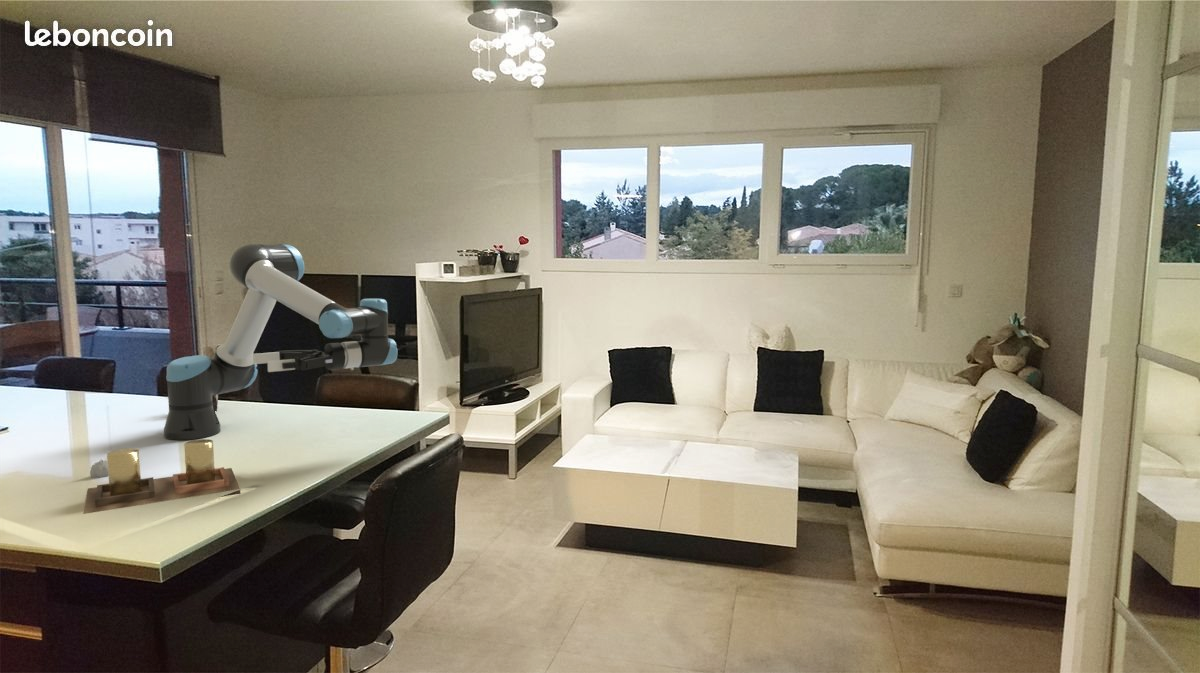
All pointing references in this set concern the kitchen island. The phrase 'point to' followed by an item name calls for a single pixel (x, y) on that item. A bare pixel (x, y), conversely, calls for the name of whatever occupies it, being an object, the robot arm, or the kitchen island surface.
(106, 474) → the garlic
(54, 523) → the kitchen island surface
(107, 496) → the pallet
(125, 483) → the cylinder
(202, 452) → the brass billet
